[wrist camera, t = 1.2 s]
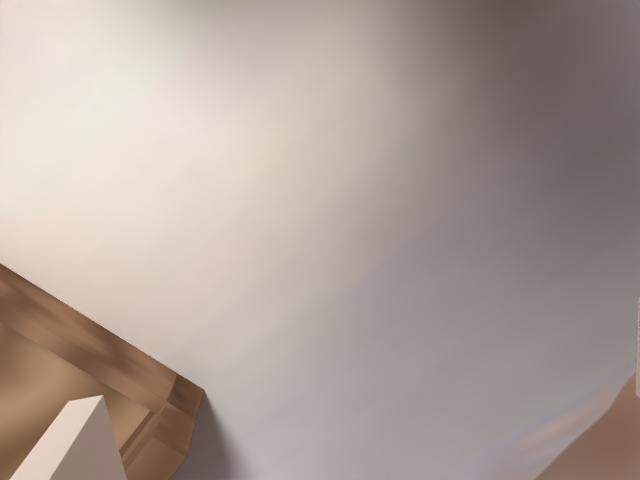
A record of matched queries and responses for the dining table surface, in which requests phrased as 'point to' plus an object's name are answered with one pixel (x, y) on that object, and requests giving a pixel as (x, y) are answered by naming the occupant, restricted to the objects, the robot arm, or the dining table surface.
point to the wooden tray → (85, 383)
